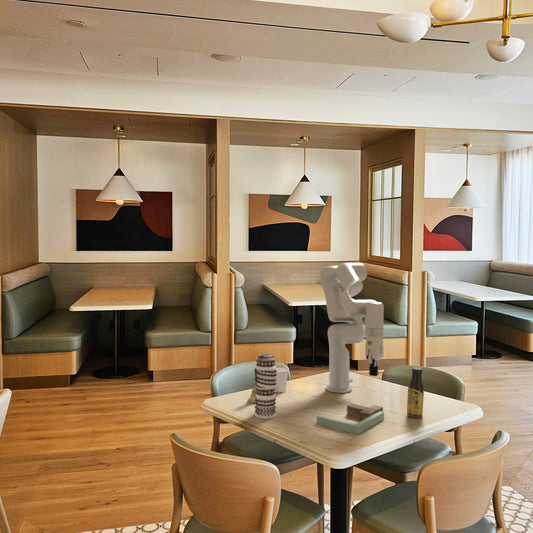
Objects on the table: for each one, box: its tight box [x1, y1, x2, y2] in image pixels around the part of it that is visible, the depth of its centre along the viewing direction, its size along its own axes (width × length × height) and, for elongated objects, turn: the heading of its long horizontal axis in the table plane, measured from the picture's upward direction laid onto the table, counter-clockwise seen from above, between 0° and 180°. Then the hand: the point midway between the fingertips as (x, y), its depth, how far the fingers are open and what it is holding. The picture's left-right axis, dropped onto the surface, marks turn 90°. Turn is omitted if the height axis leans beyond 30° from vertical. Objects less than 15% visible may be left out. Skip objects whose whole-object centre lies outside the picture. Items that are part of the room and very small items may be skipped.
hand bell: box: [247, 370, 257, 404], centre depth 233 cm, size 8×8×16 cm
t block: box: [346, 403, 384, 423], centre depth 212 cm, size 12×12×4 cm
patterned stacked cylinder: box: [254, 352, 277, 419], centre depth 214 cm, size 9×9×25 cm
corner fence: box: [316, 411, 385, 435], centre depth 207 cm, size 22×18×3 cm
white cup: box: [275, 367, 289, 393], centre depth 250 cm, size 8×8×10 cm
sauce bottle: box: [406, 366, 425, 419], centre depth 214 cm, size 6×6×20 cm
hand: (373, 375), depth 219 cm, fingers closed
